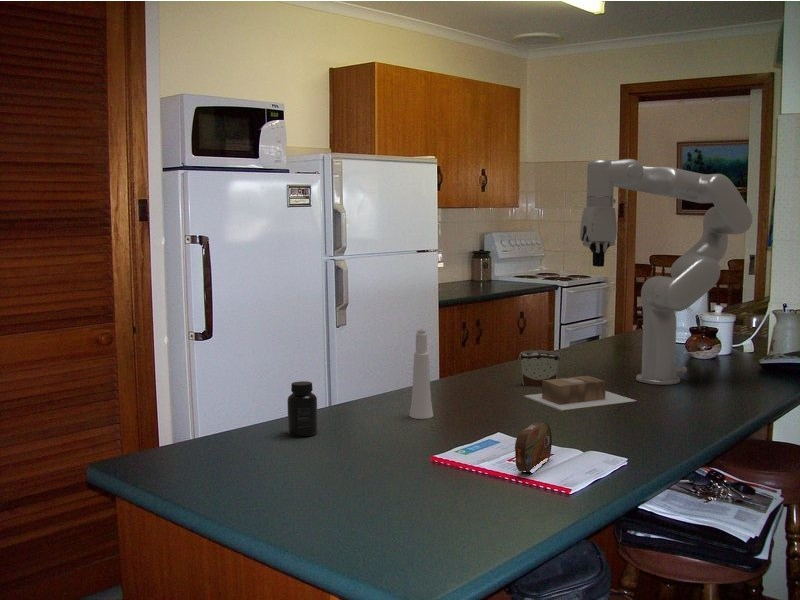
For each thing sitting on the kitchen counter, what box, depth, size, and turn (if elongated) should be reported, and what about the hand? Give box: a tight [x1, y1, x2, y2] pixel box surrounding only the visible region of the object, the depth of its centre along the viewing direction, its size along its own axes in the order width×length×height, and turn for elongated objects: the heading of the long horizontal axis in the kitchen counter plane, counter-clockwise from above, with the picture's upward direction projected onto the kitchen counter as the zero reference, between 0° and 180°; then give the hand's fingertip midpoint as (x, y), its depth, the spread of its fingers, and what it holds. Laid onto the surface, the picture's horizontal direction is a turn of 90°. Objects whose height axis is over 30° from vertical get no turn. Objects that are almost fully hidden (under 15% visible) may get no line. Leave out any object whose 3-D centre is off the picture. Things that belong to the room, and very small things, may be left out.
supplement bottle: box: [286, 380, 319, 438], centre depth 189 cm, size 7×7×12 cm
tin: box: [514, 422, 553, 472], centre depth 164 cm, size 15×3×8 cm, turn 150°
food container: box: [518, 350, 562, 387], centre depth 240 cm, size 12×6×10 cm, turn 84°
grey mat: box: [524, 390, 637, 412], centre depth 223 cm, size 24×18×1 cm
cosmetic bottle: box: [408, 328, 434, 420], centre depth 204 cm, size 6×6×22 cm
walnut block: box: [541, 375, 607, 405], centre depth 222 cm, size 5×8×15 cm
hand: (598, 266), depth 238 cm, fingers closed
